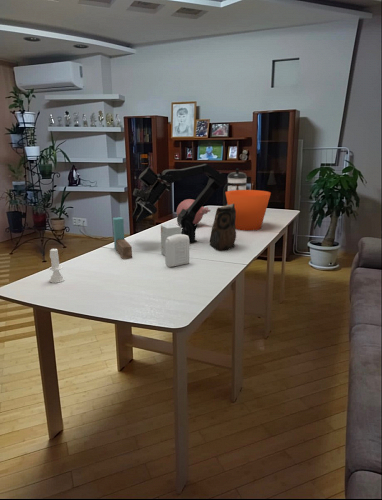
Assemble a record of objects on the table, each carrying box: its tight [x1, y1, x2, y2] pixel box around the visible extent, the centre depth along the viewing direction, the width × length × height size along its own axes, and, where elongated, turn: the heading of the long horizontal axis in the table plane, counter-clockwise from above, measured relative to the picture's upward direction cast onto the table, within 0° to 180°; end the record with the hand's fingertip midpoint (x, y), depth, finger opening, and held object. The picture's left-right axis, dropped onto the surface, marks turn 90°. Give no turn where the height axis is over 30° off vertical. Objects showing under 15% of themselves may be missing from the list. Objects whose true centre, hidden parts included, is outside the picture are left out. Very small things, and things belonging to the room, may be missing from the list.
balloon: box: [176, 198, 211, 226], centre depth 221 cm, size 15×20×15 cm
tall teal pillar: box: [112, 216, 125, 250], centre depth 175 cm, size 4×4×14 cm
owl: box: [209, 204, 237, 252], centre depth 175 cm, size 13×13×20 cm
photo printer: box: [164, 234, 190, 268], centre depth 153 cm, size 10×4×12 cm, turn 123°
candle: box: [48, 248, 66, 284], centre depth 136 cm, size 5×5×12 cm
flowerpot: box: [225, 189, 272, 232], centre depth 216 cm, size 25×25×20 cm
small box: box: [160, 223, 182, 256], centre depth 165 cm, size 8×6×13 cm
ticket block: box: [115, 238, 133, 260], centre depth 168 cm, size 4×14×5 cm, turn 22°
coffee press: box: [222, 168, 248, 206], centre depth 254 cm, size 17×16×30 cm
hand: (134, 219), depth 177 cm, fingers open, 9 cm apart
